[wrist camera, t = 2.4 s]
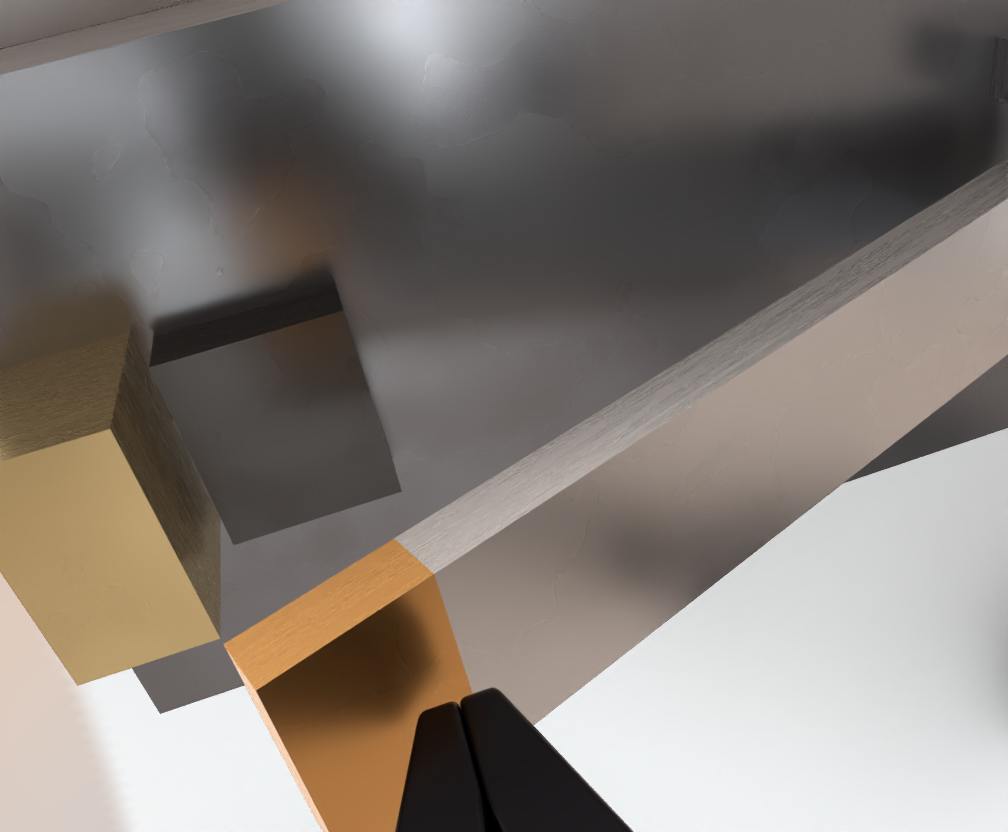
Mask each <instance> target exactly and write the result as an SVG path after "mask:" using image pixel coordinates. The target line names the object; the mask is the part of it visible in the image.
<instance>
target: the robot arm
mask: <svg viewBox="0 0 1008 832" xmlns="http://www.w3.org/2000/svg"><path fill="white" fill-rule="evenodd" d="M395 832H633V831H632V829H631V828H630V827H629V826H628V825H627V824H626V823H625V822H624V821H623V820H622V819H621V818H620V817H619V816H618V815H617V814H616V813H615V811H614V810H613V809H612V808H611V807H610V806H609V805H608V804H607V803H606V802H605V801H604V800H603V799H602V798H601V797H600V796H599V795H598V793H597V792H596V791H595V790H594V789H593V788H592V787H591V786H590V785H589V784H588V783H587V782H586V781H585V780H584V779H583V778H582V777H581V775H580V774H579V773H578V772H577V771H576V770H575V769H574V768H573V767H572V766H571V765H570V764H569V763H568V762H567V761H566V760H565V759H564V757H563V756H562V755H561V754H560V753H559V752H558V751H557V750H556V749H555V748H554V747H553V746H552V745H551V744H550V743H549V742H548V740H547V739H546V738H545V737H544V736H543V735H542V734H541V733H540V732H539V731H538V730H537V729H536V728H535V727H534V726H533V725H532V724H531V722H530V721H529V720H528V719H527V718H526V717H525V716H524V715H523V714H522V713H521V712H520V711H519V710H518V709H517V708H516V707H515V706H514V704H513V703H512V702H511V701H510V700H509V699H508V698H507V697H506V696H505V695H504V694H503V693H502V692H501V691H500V690H499V689H497V688H494V687H491V688H488V689H485V690H482V691H479V692H476V693H473V694H470V695H468V696H465V697H463V698H462V700H461V701H460V706H459V704H458V703H457V702H453V701H450V702H447V703H445V704H442V705H439V706H436V707H433V708H430V709H427V710H425V711H423V712H422V713H421V714H420V716H419V718H418V721H417V725H416V730H415V735H414V740H413V745H412V750H411V755H410V760H409V765H408V770H407V774H406V779H405V784H404V789H403V794H402V799H401V804H400V809H399V814H398V819H397V824H396V828H395Z"/></svg>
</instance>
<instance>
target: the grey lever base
mask: <svg viewBox="0 0 1008 832" xmlns="http://www.w3.org/2000/svg"><path fill="white" fill-rule="evenodd" d="M1006 158H1008V0H196V1H192V2H188V3H184V4H180V5H176V6H172V7H168V8H164V9H160V10H156V11H152V12H148V13H144V14H140V15H136V16H132V17H128V18H124V19H120V20H116V21H112V22H108V23H104V24H100V25H96V26H92V27H88V28H84V29H80V30H76V31H72V32H68V33H64V34H60V35H55V36H51V37H47V38H43V39H39V40H35V41H31V42H27V43H23V44H19V45H15V46H11V47H7V48H3V49H0V572H1V574H2V575H3V577H4V578H5V579H6V581H7V582H8V584H9V585H10V587H11V588H12V590H13V591H14V593H15V594H16V596H17V597H18V599H19V600H20V602H21V603H22V605H23V606H24V607H25V609H26V610H27V612H28V613H29V615H30V616H31V618H32V619H33V621H34V622H35V624H36V625H37V627H38V628H39V630H40V631H41V633H42V634H43V636H44V637H45V638H46V640H47V641H48V643H49V644H50V646H51V647H52V649H53V650H54V652H55V653H56V655H57V656H58V658H59V659H60V661H61V662H62V664H63V665H64V667H65V668H66V669H67V671H68V672H69V674H70V675H71V677H72V678H73V680H74V681H75V683H76V684H77V686H78V685H81V684H84V683H87V682H90V681H93V680H96V679H99V678H102V677H105V676H108V675H111V674H114V673H118V672H121V671H124V670H127V669H130V668H132V669H133V671H134V672H135V674H136V675H137V677H138V679H139V680H140V682H141V684H142V685H143V687H144V688H145V690H146V692H147V693H148V695H149V696H150V698H151V700H152V701H153V703H154V705H155V706H156V708H157V709H158V711H159V713H160V714H161V713H164V712H167V711H170V710H173V709H176V708H179V707H182V706H185V705H188V704H191V703H193V702H196V701H199V700H202V699H205V698H208V697H211V696H214V695H217V694H220V693H223V692H226V691H229V690H232V689H235V688H238V687H241V686H244V685H245V684H244V683H243V681H242V679H241V677H240V675H239V673H238V671H237V669H236V667H235V665H234V664H233V662H232V660H231V658H230V656H229V654H228V652H227V650H226V648H225V646H224V645H223V644H225V643H226V642H228V641H230V640H231V639H233V638H234V637H236V636H238V635H239V634H241V633H242V632H244V631H246V630H247V629H249V628H250V627H252V626H254V625H255V624H257V623H259V622H260V621H262V620H263V619H265V618H267V617H268V616H270V615H271V614H273V613H275V612H276V611H278V610H279V609H281V608H283V607H284V606H286V605H288V604H289V603H291V602H292V601H294V600H296V599H297V598H299V597H300V596H302V595H304V594H305V593H307V592H308V591H310V590H312V589H313V588H315V587H317V586H318V585H320V584H321V583H323V582H325V581H326V580H328V579H329V578H331V577H333V576H334V575H336V574H338V573H339V572H341V571H342V570H344V569H346V568H347V567H349V566H350V565H352V564H354V563H355V562H357V561H358V560H360V559H362V558H363V557H365V556H367V555H368V554H370V553H371V552H373V551H375V550H376V549H378V548H379V547H381V546H383V545H384V544H386V543H387V542H389V541H391V540H392V539H394V538H396V537H397V536H399V535H400V534H402V533H404V532H405V531H407V530H408V529H410V528H412V527H413V526H415V525H416V524H418V523H420V522H421V521H423V520H425V519H426V518H428V517H429V516H431V515H433V514H434V513H436V512H437V511H439V510H441V509H442V508H444V507H445V506H447V505H449V504H450V503H452V502H454V501H455V500H457V499H458V498H460V497H462V496H463V495H465V494H466V493H468V492H470V491H471V490H473V489H475V488H476V487H478V486H479V485H481V484H483V483H484V482H486V481H487V480H489V479H491V478H492V477H494V476H495V475H497V474H499V473H500V472H502V471H504V470H505V469H507V468H508V467H510V466H512V465H513V464H515V463H516V462H518V461H520V460H521V459H523V458H524V457H526V456H528V455H529V454H531V453H533V452H534V451H536V450H537V449H539V448H541V447H542V446H544V445H545V444H547V443H549V442H550V441H552V440H553V439H555V438H557V437H558V436H560V435H562V434H563V433H565V432H566V431H568V430H570V429H571V428H573V427H574V426H576V425H578V424H579V423H581V422H582V421H584V420H586V419H587V418H589V417H591V416H592V415H594V414H595V413H597V412H599V411H600V410H602V409H603V408H605V407H607V406H608V405H610V404H611V403H613V402H615V401H616V400H618V399H620V398H621V397H623V396H624V395H626V394H628V393H629V392H631V391H632V390H634V389H636V388H637V387H639V386H641V385H642V384H644V383H645V382H647V381H649V380H650V379H652V378H653V377H655V376H657V375H658V374H660V373H661V372H663V371H665V370H666V369H668V368H670V367H671V366H673V365H674V364H676V363H678V362H679V361H681V360H682V359H684V358H686V357H687V356H689V355H690V354H692V353H694V352H695V351H697V350H699V349H700V348H702V347H703V346H705V345H707V344H708V343H710V342H711V341H713V340H715V339H716V338H718V337H719V336H721V335H723V334H724V333H726V332H728V331H729V330H731V329H732V328H734V327H736V326H737V325H739V324H740V323H742V322H744V321H745V320H747V319H748V318H750V317H752V316H753V315H755V314H757V313H758V312H760V311H761V310H763V309H765V308H766V307H768V306H769V305H771V304H773V303H774V302H776V301H777V300H779V299H781V298H782V297H784V296H786V295H787V294H789V293H790V292H792V291H794V290H795V289H797V288H798V287H800V286H802V285H803V284H805V283H807V282H808V281H810V280H811V279H813V278H815V277H816V276H818V275H819V274H821V273H823V272H824V271H826V270H827V269H829V268H831V267H832V266H834V265H836V264H837V263H839V262H840V261H842V260H844V259H845V258H847V257H848V256H850V255H852V254H853V253H855V252H856V251H858V250H860V249H861V248H863V247H865V246H866V245H868V244H869V243H871V242H873V241H874V240H876V239H877V238H879V237H881V236H882V235H884V234H885V233H887V232H889V231H890V230H892V229H894V228H895V227H897V226H898V225H900V224H902V223H903V222H905V221H906V220H908V219H910V218H911V217H913V216H914V215H916V214H918V213H919V212H921V211H923V210H924V209H926V208H927V207H929V206H931V205H932V204H934V203H935V202H937V201H939V200H940V199H942V198H943V197H945V196H947V195H948V194H950V193H952V192H953V191H955V190H956V189H958V188H960V187H961V186H963V185H964V184H966V183H968V182H969V181H971V180H973V179H974V178H976V177H977V176H979V175H981V174H982V173H984V172H985V171H987V170H989V169H990V168H992V167H993V166H995V165H997V164H998V163H1000V162H1002V161H1003V160H1005V159H1006ZM1005 428H1008V355H1006V356H1005V357H1004V358H1002V359H1001V360H1000V361H999V362H997V363H996V364H995V365H994V366H992V367H991V368H990V369H988V370H987V371H986V372H985V373H983V374H982V375H981V376H979V377H978V378H977V379H976V380H974V381H973V382H972V383H971V384H969V385H968V386H967V387H965V388H964V389H963V390H962V391H960V392H959V393H958V394H956V395H955V396H954V397H953V398H951V399H950V400H949V401H948V402H946V403H945V404H944V405H942V406H941V407H940V408H939V409H937V410H936V411H935V412H933V413H932V414H931V415H930V416H928V417H927V418H926V419H924V420H923V421H922V422H921V423H919V424H918V425H917V426H916V427H914V428H913V429H912V430H910V431H909V432H908V433H907V434H905V435H904V436H903V437H901V438H900V439H899V440H898V441H896V442H895V443H894V444H893V445H891V446H890V447H889V448H887V449H886V450H885V451H884V452H882V453H881V454H880V455H878V456H877V457H876V458H875V459H873V460H872V461H871V462H870V463H868V464H867V465H866V466H864V467H863V468H862V469H861V470H859V471H858V472H857V473H855V474H854V475H853V476H852V477H850V478H849V479H848V480H847V481H845V482H848V481H851V480H854V479H857V478H860V477H863V476H866V475H869V474H872V473H875V472H878V471H881V470H884V469H887V468H890V467H893V466H896V465H899V464H902V463H905V462H908V461H911V460H914V459H917V458H920V457H923V456H925V455H928V454H931V453H934V452H937V451H940V450H943V449H946V448H949V447H952V446H955V445H958V444H961V443H964V442H967V441H970V440H973V439H976V438H979V437H982V436H985V435H988V434H991V433H994V432H997V431H1000V430H1003V429H1005ZM845 482H844V483H845Z"/></svg>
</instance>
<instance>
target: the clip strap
mask: <svg viewBox="0 0 1008 832" xmlns="http://www.w3.org/2000/svg"><path fill="white" fill-rule="evenodd" d="M1006 355H1008V158H1006V159H1005V160H1003V161H1002V162H1000V163H998V164H997V165H995V166H993V167H992V168H990V169H989V170H987V171H985V172H984V173H982V174H981V175H979V176H977V177H976V178H974V179H973V180H971V181H969V182H968V183H966V184H964V185H963V186H961V187H960V188H958V189H956V190H955V191H953V192H952V193H950V194H948V195H947V196H945V197H943V198H942V199H940V200H939V201H937V202H935V203H934V204H932V205H931V206H929V207H927V208H926V209H924V210H923V211H921V212H919V213H918V214H916V215H914V216H913V217H911V218H910V219H908V220H906V221H905V222H903V223H902V224H900V225H898V226H897V227H895V228H894V229H892V230H890V231H889V232H887V233H885V234H884V235H882V236H881V237H879V238H877V239H876V240H874V241H873V242H871V243H869V244H868V245H866V246H865V247H863V248H861V249H860V250H858V251H856V252H855V253H853V254H852V255H850V256H848V257H847V258H845V259H844V260H842V261H840V262H839V263H837V264H836V265H834V266H832V267H831V268H829V269H827V270H826V271H824V272H823V273H821V274H819V275H818V276H816V277H815V278H813V279H811V280H810V281H808V282H807V283H805V284H803V285H802V286H800V287H798V288H797V289H795V290H794V291H792V292H790V293H789V294H787V295H786V296H784V297H782V298H781V299H779V300H777V301H776V302H774V303H773V304H771V305H769V306H768V307H766V308H765V309H763V310H761V311H760V312H758V313H757V314H755V315H753V316H752V317H750V318H748V319H747V320H745V321H744V322H742V323H740V324H739V325H737V326H736V327H734V328H732V329H731V330H729V331H728V332H726V333H724V334H723V335H721V336H719V337H718V338H716V339H715V340H713V341H711V342H710V343H708V344H707V345H705V346H703V347H702V348H700V349H699V350H697V351H695V352H694V353H692V354H690V355H689V356H687V357H686V358H684V359H682V360H681V361H679V362H678V363H676V364H674V365H673V366H671V367H670V368H668V369H666V370H665V371H663V372H661V373H660V374H658V375H657V376H655V377H653V378H652V379H650V380H649V381H647V382H645V383H644V384H642V385H641V386H639V387H637V388H636V389H634V390H632V391H631V392H629V393H628V394H626V395H624V396H623V397H621V398H620V399H618V400H616V401H615V402H613V403H611V404H610V405H608V406H607V407H605V408H603V409H602V410H600V411H599V412H597V413H595V414H594V415H592V416H591V417H589V418H587V419H586V420H584V421H582V422H581V423H579V424H578V425H576V426H574V427H573V428H571V429H570V430H568V431H566V432H565V433H563V434H562V435H560V436H558V437H557V438H555V439H553V440H552V441H550V442H549V443H547V444H545V445H544V446H542V447H541V448H539V449H537V450H536V451H534V452H533V453H531V454H529V455H528V456H526V457H524V458H523V459H521V460H520V461H518V462H516V463H515V464H513V465H512V466H510V467H508V468H507V469H505V470H504V471H502V472H500V473H499V474H497V475H495V476H494V477H492V478H491V479H489V480H487V481H486V482H484V483H483V484H481V485H479V486H478V487H476V488H475V489H473V490H471V491H470V492H468V493H466V494H465V495H463V496H462V497H460V498H458V499H457V500H455V501H454V502H452V503H450V504H449V505H447V506H445V507H444V508H442V509H441V510H439V511H437V512H436V513H434V514H433V515H431V516H429V517H428V518H426V519H425V520H423V521H421V522H420V523H418V524H416V525H415V526H413V527H412V528H410V529H408V530H407V531H405V532H404V533H402V534H400V535H399V536H397V537H396V538H394V539H392V540H391V541H389V542H387V543H386V544H384V545H383V546H381V547H379V548H378V549H376V550H375V551H373V552H371V553H370V554H368V555H367V556H365V557H363V558H362V559H360V560H358V561H357V562H355V563H354V564H352V565H350V566H349V567H347V568H346V569H344V570H342V571H341V572H339V573H338V574H336V575H334V576H333V577H331V578H329V579H328V580H326V581H325V582H323V583H321V584H320V585H318V586H317V587H315V588H313V589H312V590H310V591H308V592H307V593H305V594H304V595H302V596H300V597H299V598H297V599H296V600H294V601H292V602H291V603H289V604H288V605H286V606H284V607H283V608H281V609H279V610H278V611H276V612H275V613H273V614H271V615H270V616H268V617H267V618H265V619H263V620H262V621H260V622H259V623H257V624H255V625H254V626H252V627H250V628H249V629H247V630H246V631H244V632H242V633H241V634H239V635H238V636H236V637H234V638H233V639H231V640H230V641H228V642H226V643H225V644H223V645H224V646H225V648H226V650H227V652H228V654H229V656H230V658H231V660H232V662H233V664H234V665H235V667H236V669H237V671H238V673H239V675H240V677H241V679H242V681H243V683H244V684H245V686H246V688H247V690H248V692H249V694H250V696H251V698H252V700H253V702H254V704H255V705H256V707H257V709H258V711H259V713H260V715H261V717H262V719H263V721H264V723H265V724H266V726H267V728H268V730H269V732H270V734H271V736H272V738H273V740H274V742H275V743H276V745H277V747H278V749H279V751H280V753H281V755H282V757H283V759H284V761H285V762H286V764H287V766H288V768H289V770H290V772H291V774H292V776H293V778H294V780H295V782H296V783H297V785H298V787H299V789H300V791H301V793H302V795H303V797H304V799H305V801H306V802H307V804H308V806H309V808H310V810H311V812H312V814H313V816H314V818H315V820H316V821H317V823H318V824H319V826H320V827H321V829H322V830H323V832H395V828H396V824H397V819H398V814H399V809H400V804H401V799H402V794H403V789H404V784H405V779H406V774H407V770H408V765H409V760H410V755H411V750H412V745H413V740H414V735H415V730H416V725H417V721H418V718H419V716H420V714H421V713H422V712H423V711H425V710H427V709H430V708H433V707H436V706H439V705H442V704H445V703H447V702H450V701H453V702H457V703H458V704H459V706H460V701H461V700H462V698H463V697H465V696H468V695H470V694H473V693H476V692H479V691H482V690H485V689H488V688H491V687H494V688H497V689H499V690H500V691H501V692H502V693H503V694H504V695H505V696H506V697H507V698H508V699H509V700H510V701H511V702H512V703H513V704H514V706H515V707H516V708H517V709H518V710H519V711H520V712H521V713H522V714H523V715H524V716H525V717H526V718H527V719H528V720H529V721H530V722H531V724H532V725H535V724H536V723H537V722H538V721H540V720H541V719H542V718H543V717H545V716H546V715H547V714H549V713H550V712H551V711H552V710H554V709H555V708H556V707H558V706H559V705H560V704H561V703H563V702H564V701H565V700H567V699H568V698H569V697H570V696H572V695H573V694H574V693H575V692H577V691H578V690H579V689H581V688H582V687H583V686H584V685H586V684H587V683H588V682H590V681H591V680H592V679H593V678H595V677H596V676H597V675H598V674H600V673H601V672H602V671H604V670H605V669H606V668H607V667H609V666H610V665H611V664H613V663H614V662H615V661H616V660H618V659H619V658H620V657H621V656H623V655H624V654H625V653H627V652H628V651H629V650H630V649H632V648H633V647H634V646H636V645H637V644H638V643H639V642H641V641H642V640H643V639H644V638H646V637H647V636H648V635H650V634H651V633H652V632H653V631H655V630H656V629H657V628H659V627H660V626H661V625H662V624H664V623H665V622H666V621H668V620H669V619H670V618H671V617H673V616H674V615H675V614H676V613H678V612H679V611H680V610H682V609H683V608H684V607H685V606H687V605H688V604H689V603H691V602H692V601H693V600H694V599H696V598H697V597H698V596H699V595H701V594H702V593H703V592H705V591H706V590H707V589H708V588H710V587H711V586H712V585H714V584H715V583H716V582H717V581H719V580H720V579H721V578H722V577H724V576H725V575H726V574H728V573H729V572H730V571H731V570H733V569H734V568H735V567H737V566H738V565H739V564H740V563H742V562H743V561H744V560H746V559H747V558H748V557H749V556H751V555H752V554H753V553H754V552H756V551H757V550H758V549H760V548H761V547H762V546H763V545H765V544H766V543H767V542H769V541H770V540H771V539H772V538H774V537H775V536H776V535H777V534H779V533H780V532H781V531H783V530H784V529H785V528H786V527H788V526H789V525H790V524H792V523H793V522H794V521H795V520H797V519H798V518H799V517H800V516H802V515H803V514H804V513H806V512H807V511H808V510H809V509H811V508H812V507H813V506H815V505H816V504H817V503H818V502H820V501H821V500H822V499H823V498H825V497H826V496H827V495H829V494H830V493H831V492H832V491H834V490H835V489H836V488H838V487H839V486H840V485H841V484H843V483H844V482H845V481H847V480H848V479H849V478H850V477H852V476H853V475H854V474H855V473H857V472H858V471H859V470H861V469H862V468H863V467H864V466H866V465H867V464H868V463H870V462H871V461H872V460H873V459H875V458H876V457H877V456H878V455H880V454H881V453H882V452H884V451H885V450H886V449H887V448H889V447H890V446H891V445H893V444H894V443H895V442H896V441H898V440H899V439H900V438H901V437H903V436H904V435H905V434H907V433H908V432H909V431H910V430H912V429H913V428H914V427H916V426H917V425H918V424H919V423H921V422H922V421H923V420H924V419H926V418H927V417H928V416H930V415H931V414H932V413H933V412H935V411H936V410H937V409H939V408H940V407H941V406H942V405H944V404H945V403H946V402H948V401H949V400H950V399H951V398H953V397H954V396H955V395H956V394H958V393H959V392H960V391H962V390H963V389H964V388H965V387H967V386H968V385H969V384H971V383H972V382H973V381H974V380H976V379H977V378H978V377H979V376H981V375H982V374H983V373H985V372H986V371H987V370H988V369H990V368H991V367H992V366H994V365H995V364H996V363H997V362H999V361H1000V360H1001V359H1002V358H1004V357H1005V356H1006Z"/></svg>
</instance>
